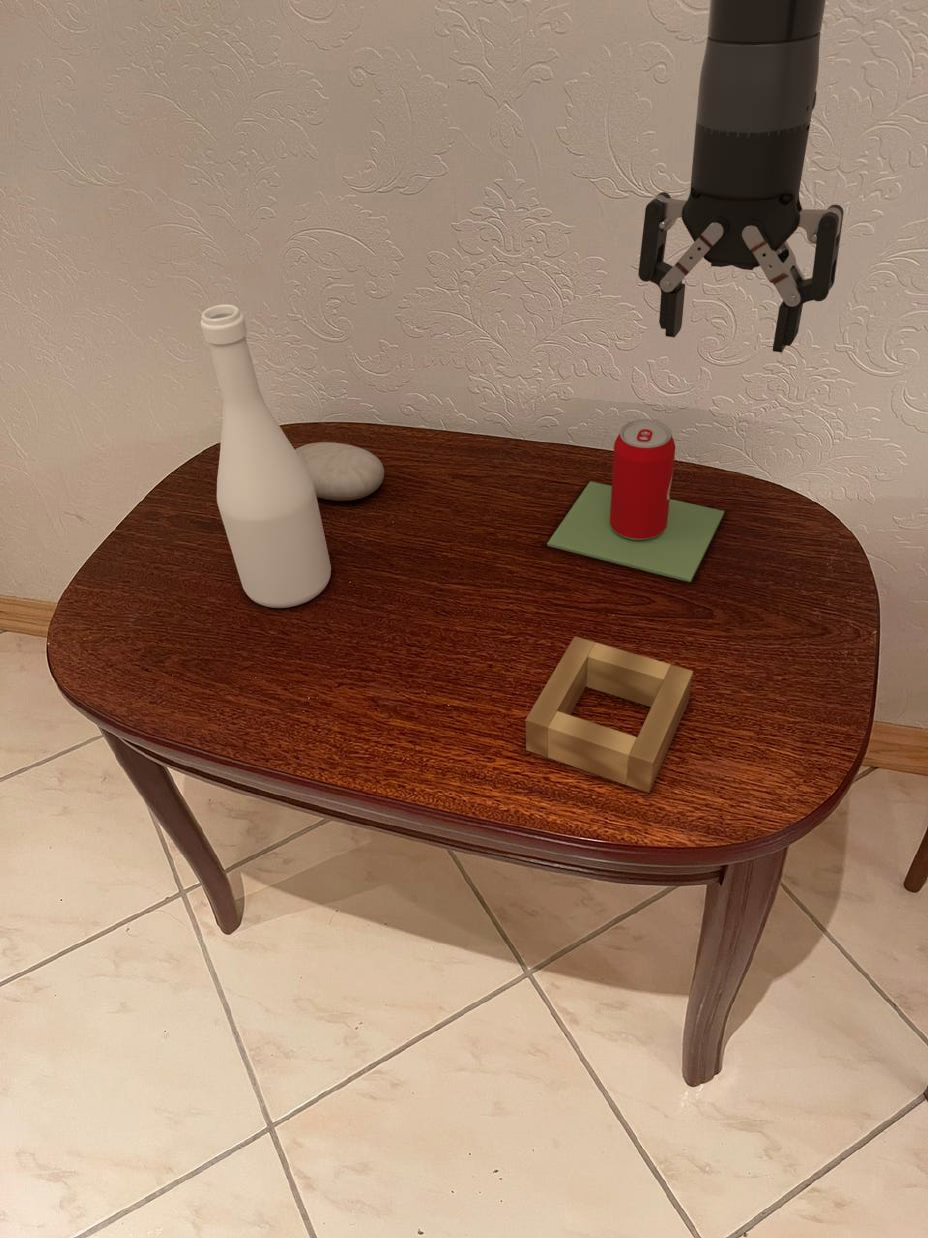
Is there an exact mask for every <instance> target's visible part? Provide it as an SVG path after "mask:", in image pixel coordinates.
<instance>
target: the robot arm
mask: <svg viewBox="0 0 928 1238" xmlns="http://www.w3.org/2000/svg"><path fill="white" fill-rule="evenodd" d="M709 1H710V2H709V14H708V25H707V37H706V44H705V50H704V54H703V60H702V63H701V64H702V65H701V69H700V75H699V76H700V78H699V82H698V83H699V84H698V86H699V87H698V94H697V95H698V96H697V107H696V118H695V128H694V140H693V141H694V142H693V153H692V166H691V175H690V176H691V177H690V190H689V195H688V197H687V200H683V199H676V198H672V197H671V195H670V194H669V193H668V192H665V191H662V192H659V193H658V194H657V195H656V196H655V197H654V198H653V199H652V200H651V201H649V202H648V203H647V204H646V206H645V210H644V217H643V229H642V237H641V244H640V245H641V247H640V255H639V264H638V274H637V275H638V278H639V279H640V280H641V281H642V282H645V283H646V282H647V283H648V282H651V283H653V284H655V285H657V287H658V288H659V290H660V305H659V320H658V323H659V327H660V329H662V330H665V333H664V334H665V335H664V336H665V337H668V338H676V337H677V335H678V334H679V332H680V331H681V330H682V327H683V317H684V304H685V295H686V283H683V280H684V278H685V277H686V276H687V275H688V274H689V273H690V272H691V271H692V270H693V269H694V268H695V266H697V265H698V263H699V262H700V261H701V260H702V259H704V260H705V261H706V262H708V263H710V267H716V268H724V267H729V266H733V267H735V268H738V269H739V270H746V271H748V270H749V271H753V270H754V269H756V268H758V267H760V269H762V271H763V273H764V275H765V276H766V279H767V280H768V282H769V283H770V284H773V285H774V287H775V288H776V290H777V292H778V294H779V295H780V298H781V299H782V302H781V303H780V305H779V307H778V312H777V320H776V325H775V332H774V337H773V338H774V339H773V344H772V352H775V353H783V352H784V350H785V348H787V347H791V346H792V344H793V343H794V341H795V339H796V337H797V335H798V334H799V329H800V324H801V319H802V318H801V317H802V312H803V307H804V304H805V303H807V302H813V301H815V302H823V301H824V300H826V299H827V297H828V295H829V293H830V290H831V289H832V288H833V286H834V284H835V280H836V273H837V267H838V257H839V249H840V244H841V243H840V242H841V235H842V228H843V221H844V209H843V207H842V206H841V205H839V204H832V205H830V206H828V207H827V209H814V208H813V209H809V208H808V209H807V208H806V209H805V208H803V206H802V204H801V201H800V190H801V183H802V177H803V171H804V165H805V159H806V151H807V146H808V140H809V134H810V128H811V122H812V115H813V112H814V109H815V107H816V101H817V84H818V79H819V78H818V77H819V68H820V66H819V65H820V43H821V31H822V27H823V19H824V12H825V8H826V7H825V6H826V1H827V0H709ZM679 218H681V220H682V223H683V224H684V226H685V228H686V230H687V232H688V233H689V235H690V237H691V239H692V241H693V243H692V244H691V245H690V247H689V248H688V249H687V250H686V251H685V253H683V255H681V257H680V258H679V259H678V260H677V261H676V263H675V264H674V265H671V264H669V263H667V262H665V261H664V260H665V252H666V244H667V236H668V231H669V230H671V228H673V227H674V226H675V225H676V222H677V219H679ZM798 228H802V229H803V230H804V231H805V232H806V238H807V241H808V242H809V243H810V244H812V245H815V249H814V250H815V251H814V260H813V267H812V276H811V277H810V278H805V277H804V274H803V273H802V271H801V269H800V268H799V265H798V264H797V258H796V255H795V253H794V251H793V250H792V248H791V247H790V244H789V243H788V239H790V237H792V236H793V234H794V233H795V232H796V231H797V230H798Z"/></svg>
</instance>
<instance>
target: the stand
mask: <svg viewBox="0 0 928 1238" xmlns="http://www.w3.org/2000/svg"><path fill="white" fill-rule="evenodd" d="M693 676H694V671H693V670H691V669H688V668H684V667H681V666H679V665H678V666H677V665H674V664H671V663H667V662H665V661H660V660H658V659H654V658H650V657H647V656H643V655H640V654H637V653H633V652H630V651H628V650H624V649H621V648H617V647H614V646H609V645H606V644H603V643H599V642H596V641H593V640H589V639H586V638H582V637H579V636H576V635H575V636H574V637H573V638H572V639H571V641H570V643H569V644H568V647H567V648H566V650H565V652H564V653H563V655H562V657H561V659H560V660H559V662H558V664H557V666H556V667H555V669H554V670H553V672H552V674H551V676H550V677H549V679H548V681H547V682H546V684H545V686H544V688H543V689H542V690H541V692H540V694H539V695H538V698H537V699H536V701H535V703H534V704H533V707H532V708H531V709H530V712H529V713H528V715H527V716H526V718H525V750H526V751H528V752H530V753H534V754H537V755H539V756H541V757H545V758H547V759H550V760H554V761H557V762H559V763H561V764H565V765H568V766H570V767H573V768H576V769H580V770H582V771H585V772H587V773H591V774H594V775H595V776H599V777H602V778H605V779H608V780H610V781H613V782H616V783H619V784H622V785H623V786H624V785H625V786H628V787H631V788H633V789H637V790H639V791H642V792H645V793H647V794H649V793H650V792H651V790H652V787H653V785H654V784H655V781H656V779H657V776H658V774H659V771H660V769H661V767H662V765H663V762H664V759H665V758H666V755H667V754H668V751H669V748H670V745H671V743H672V741H673V739H674V737H675V734H676V731H677V729H678V727H679V725H680V722H681V720H682V717H683V715H684V713H685V711H686V709H687V706H688V704H689V699H690V695H691V694H690V693H691V687H692V682H693ZM586 688H588V689H592V690H595V691H598V692H601V693H604V694H608V695H610V696H614V697H618V698H619V699H624V700H627V701H630V702H633V703H637V704H639V705H643V706H646V707H649V708H650V709H649V712H648V713H647V714H646V715H647V716H646V718H645V720H644V722H643V724H642V726H641V729H640V730H639V733H638V735H637V736H635V735H631V734H628V733H625V732H622V731H620V730H616V729H614V728H611V727H607V726H605V725H601V724H598V723H595V722H592V721H589V720H586V719H583V718H580V717H577V716H574V715H572V713H573V711H574V710H575V707H576V706H577V704H578V702H579V700H580V698H581V696H582V695H583V693H584V691H585V689H586Z"/></svg>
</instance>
